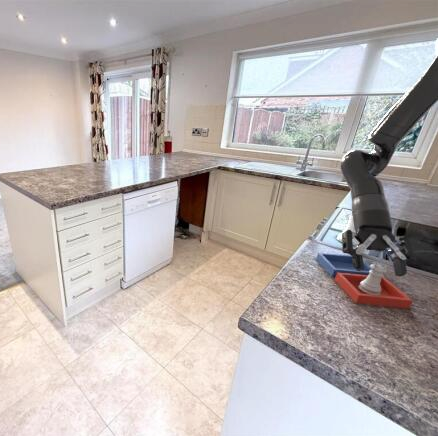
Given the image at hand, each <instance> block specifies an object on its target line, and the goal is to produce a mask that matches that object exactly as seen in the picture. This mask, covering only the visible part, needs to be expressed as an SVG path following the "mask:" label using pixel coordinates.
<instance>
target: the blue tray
mask: <svg viewBox="0 0 438 436" xmlns="http://www.w3.org/2000/svg"><path fill="white" fill-rule="evenodd" d="M315 260H316V261H317V262H318V263H319V264H320V266H321V267H323V269H325V271H326V272H327V273H328V274H329V275H330V276H331V277H332V278H335V277H336V275H337V273H348V274H359V275H369V273H370V272H369V271H370V270H371V267H370V265H371V264H369V263H368V262H366V261H365V260H363V264H364V270H362V271H356V268H354V267H353V261H352V256H351V255H350V254H339V253H328V252H327V253H325V252H317V254H316V257H315Z"/></svg>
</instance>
